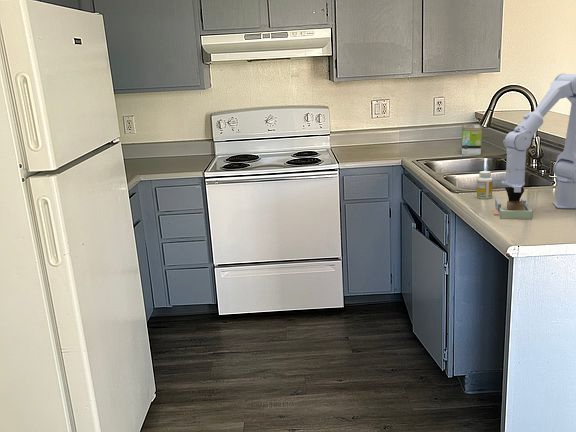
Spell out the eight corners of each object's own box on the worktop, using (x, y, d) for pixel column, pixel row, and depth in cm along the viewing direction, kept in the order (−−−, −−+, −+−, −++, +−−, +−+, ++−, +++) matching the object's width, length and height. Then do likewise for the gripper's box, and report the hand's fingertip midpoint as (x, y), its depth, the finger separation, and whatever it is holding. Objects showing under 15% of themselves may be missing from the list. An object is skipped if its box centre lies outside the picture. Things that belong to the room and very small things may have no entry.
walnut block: (521, 214, 185) (521, 200, 184) (523, 217, 181) (524, 204, 180) (506, 214, 186) (507, 200, 185) (508, 217, 182) (509, 204, 181)
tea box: (481, 155, 297) (482, 127, 293) (461, 155, 299) (462, 127, 296) (480, 150, 310) (481, 123, 307) (461, 150, 313) (461, 124, 309)
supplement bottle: (488, 195, 212) (489, 170, 209) (494, 198, 207) (495, 172, 204) (474, 196, 212) (475, 170, 209) (479, 199, 207) (480, 173, 204)
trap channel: (528, 205, 195) (528, 198, 195) (537, 219, 179) (537, 211, 178) (490, 204, 199) (490, 197, 198) (495, 218, 182) (495, 211, 181)
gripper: (500, 164, 191) (498, 203, 194) (505, 172, 177) (503, 214, 181) (522, 164, 189) (520, 203, 192) (529, 172, 175) (526, 214, 179)
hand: (513, 208), depth 186 cm, fingers closed
